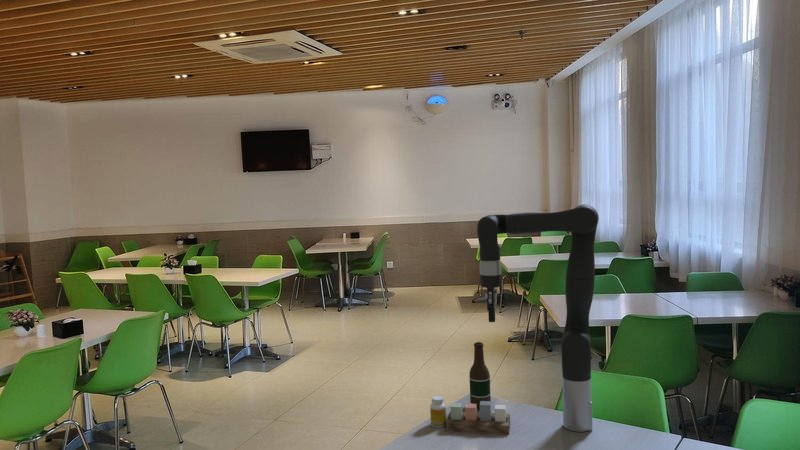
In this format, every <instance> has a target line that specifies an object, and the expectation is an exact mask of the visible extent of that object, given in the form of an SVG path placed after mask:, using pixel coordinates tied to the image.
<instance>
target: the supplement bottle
mask: <svg viewBox="0 0 800 450" xmlns="http://www.w3.org/2000/svg"><path fill="white" fill-rule="evenodd" d="M446 406H447V405H446V403H444V397H443V396H441V395H433V396H432V397H431V404H430V405H429V407H430V426H432V427H433V428H439V429H440V428H443V427H444V428H445V426H446V422H447V408H446Z"/></svg>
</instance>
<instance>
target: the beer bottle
mask: <svg viewBox="0 0 800 450" xmlns="http://www.w3.org/2000/svg"><path fill="white" fill-rule="evenodd" d="M473 347H474V348H473V349H474V350H473V351H474V352H473V353H474V354H473V355H474V356H473V364H472V366H471V367H470V369H469V375H468V376H469V400H470V404H477V410H480V401H491V398H492V397H491V375H490V371H489V368H488V367H487V365H486V364H485V357H484V343H483V342H481V341H477V342H474V343H473ZM491 402H492V401H491Z"/></svg>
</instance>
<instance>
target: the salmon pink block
mask: <svg viewBox="0 0 800 450" xmlns="http://www.w3.org/2000/svg"><path fill="white" fill-rule="evenodd" d="M464 412H465V420H469V421H477V413H478V409H477V404H471V403H466V404H465V407H464Z"/></svg>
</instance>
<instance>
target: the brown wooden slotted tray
mask: <svg viewBox="0 0 800 450" xmlns="http://www.w3.org/2000/svg"><path fill="white" fill-rule="evenodd" d="M462 412H463V420H451V410H450V412H449V414H448V417H447V418H446V425H445V426H446V432H450V433H451V432H453V433H454V432H456V433H470V434H471V433H472V434H473V433H474V434H490V435H491V434H493V435H510V430H511V413H506V422H495V412H493V413H492V412H491V417H492V418H491V421H480V412H477V421H469V420H465V411H462Z"/></svg>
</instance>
